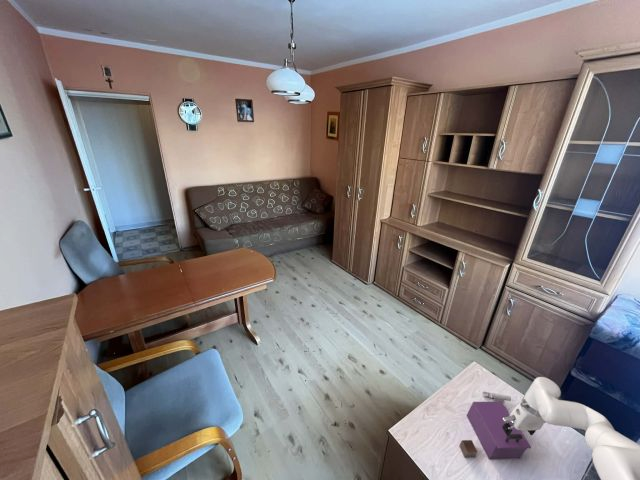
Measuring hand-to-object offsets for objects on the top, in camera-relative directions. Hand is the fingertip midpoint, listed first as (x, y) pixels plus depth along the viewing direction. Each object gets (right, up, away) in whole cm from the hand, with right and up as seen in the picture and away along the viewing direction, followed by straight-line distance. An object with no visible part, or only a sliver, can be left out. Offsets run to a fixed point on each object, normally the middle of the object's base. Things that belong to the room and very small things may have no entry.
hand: (516, 431), depth 106 cm
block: (-16, -14, +8) cm, 23 cm away
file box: (-1, -12, +14) cm, 19 cm away
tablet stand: (+9, -6, +28) cm, 30 cm away
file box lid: (-1, -3, +9) cm, 10 cm away
